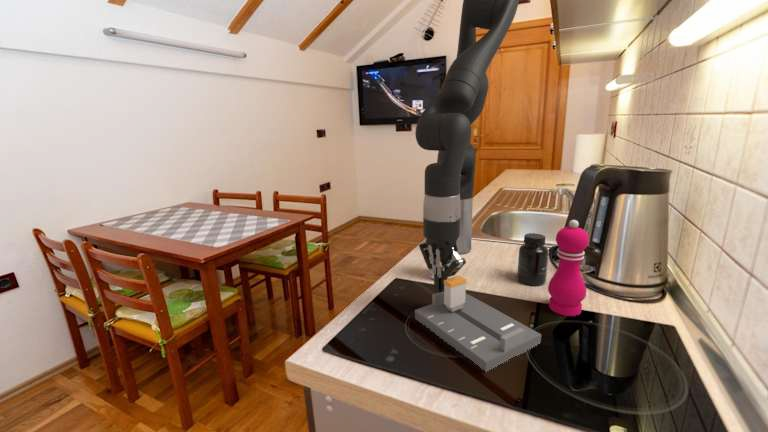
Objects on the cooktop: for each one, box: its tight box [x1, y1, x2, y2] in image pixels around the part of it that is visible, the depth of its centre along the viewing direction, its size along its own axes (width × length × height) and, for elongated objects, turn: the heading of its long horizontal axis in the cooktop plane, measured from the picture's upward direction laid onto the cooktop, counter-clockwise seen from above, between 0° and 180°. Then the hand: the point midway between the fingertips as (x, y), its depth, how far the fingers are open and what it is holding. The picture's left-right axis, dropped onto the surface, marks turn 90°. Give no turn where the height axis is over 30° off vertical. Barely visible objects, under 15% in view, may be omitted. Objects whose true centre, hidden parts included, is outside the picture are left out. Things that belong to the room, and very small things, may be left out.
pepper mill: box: [547, 219, 590, 317], centre depth 74 cm, size 7×7×20 cm
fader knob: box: [444, 275, 467, 312], centre depth 73 cm, size 2×4×6 cm, turn 121°
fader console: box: [414, 291, 542, 373], centre depth 69 cm, size 20×14×4 cm
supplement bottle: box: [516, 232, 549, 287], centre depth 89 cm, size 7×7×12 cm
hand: (440, 290), depth 77 cm, fingers closed
